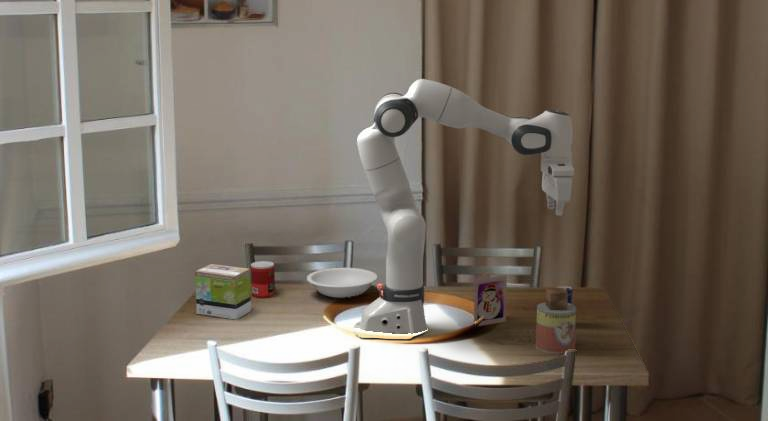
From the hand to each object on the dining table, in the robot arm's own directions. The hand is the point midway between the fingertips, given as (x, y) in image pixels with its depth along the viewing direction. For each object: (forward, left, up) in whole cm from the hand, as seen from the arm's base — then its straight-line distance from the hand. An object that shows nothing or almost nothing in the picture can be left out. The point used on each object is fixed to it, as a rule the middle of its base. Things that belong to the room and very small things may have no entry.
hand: (554, 211), depth 304 cm
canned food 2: (-2, -13, -37) cm, 40 cm away
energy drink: (+5, +6, -37) cm, 38 cm away
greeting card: (-18, +12, -37) cm, 43 cm away
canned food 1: (-88, +48, -37) cm, 107 cm away
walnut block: (-2, -13, -25) cm, 28 cm away
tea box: (-100, +29, -37) cm, 111 cm away
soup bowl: (-61, +45, -37) cm, 85 cm away
